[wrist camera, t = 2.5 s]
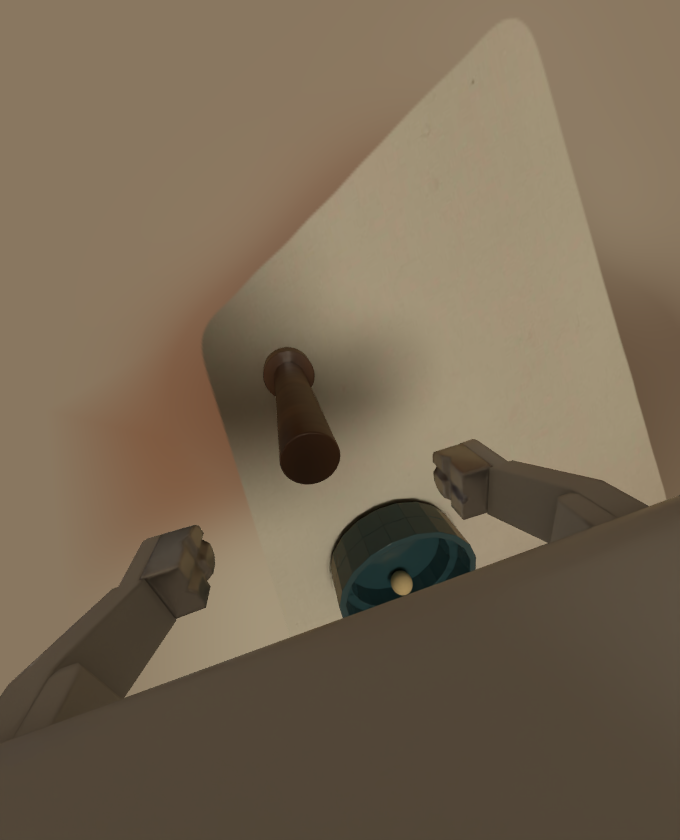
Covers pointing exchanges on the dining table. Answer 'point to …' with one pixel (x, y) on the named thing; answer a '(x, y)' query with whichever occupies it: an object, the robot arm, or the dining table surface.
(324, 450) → the stirrer
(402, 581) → the dough ball
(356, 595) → the bowl
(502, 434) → the dining table surface
